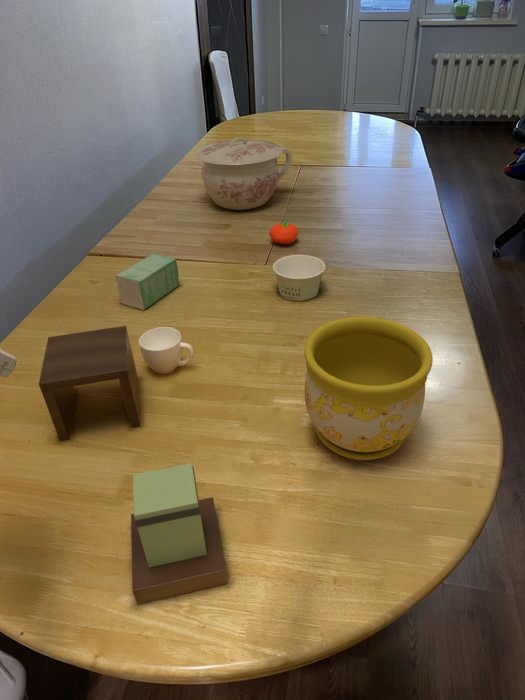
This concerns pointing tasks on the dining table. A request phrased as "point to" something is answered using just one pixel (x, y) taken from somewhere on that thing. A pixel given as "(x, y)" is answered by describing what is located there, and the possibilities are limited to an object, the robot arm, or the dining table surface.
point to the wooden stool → (87, 372)
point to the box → (147, 281)
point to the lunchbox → (168, 514)
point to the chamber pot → (242, 171)
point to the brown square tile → (180, 564)
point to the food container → (299, 276)
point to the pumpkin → (283, 233)
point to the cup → (164, 349)
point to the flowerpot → (365, 384)
